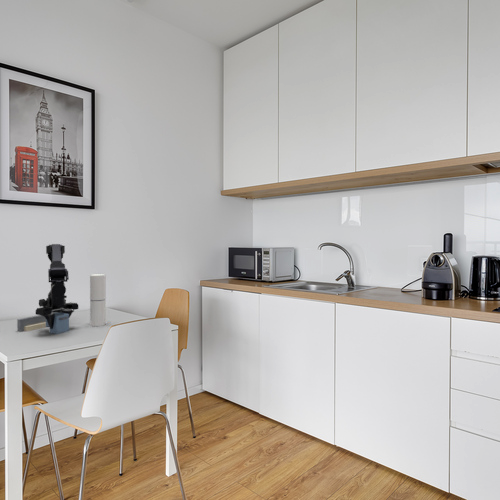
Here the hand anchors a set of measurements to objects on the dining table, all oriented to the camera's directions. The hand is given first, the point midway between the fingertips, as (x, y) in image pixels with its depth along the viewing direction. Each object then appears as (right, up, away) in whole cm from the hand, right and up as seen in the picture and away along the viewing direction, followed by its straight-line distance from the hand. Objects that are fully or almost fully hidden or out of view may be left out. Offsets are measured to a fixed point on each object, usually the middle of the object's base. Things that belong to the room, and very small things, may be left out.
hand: (57, 327), depth 181 cm
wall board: (-14, -2, +9) cm, 16 cm away
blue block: (0, -2, 0) cm, 2 cm away
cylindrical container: (+13, -2, +15) cm, 20 cm away
